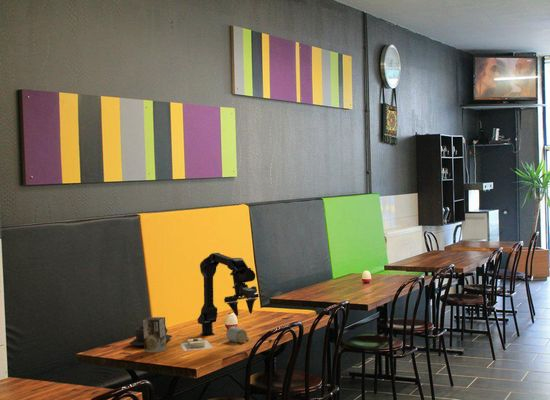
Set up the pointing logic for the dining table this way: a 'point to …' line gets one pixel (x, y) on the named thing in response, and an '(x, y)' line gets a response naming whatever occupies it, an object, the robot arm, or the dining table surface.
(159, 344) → the coffee box
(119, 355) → the dining table surface
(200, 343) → the lid
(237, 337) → the ceramic mug
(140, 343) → the casserole
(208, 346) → the mat
